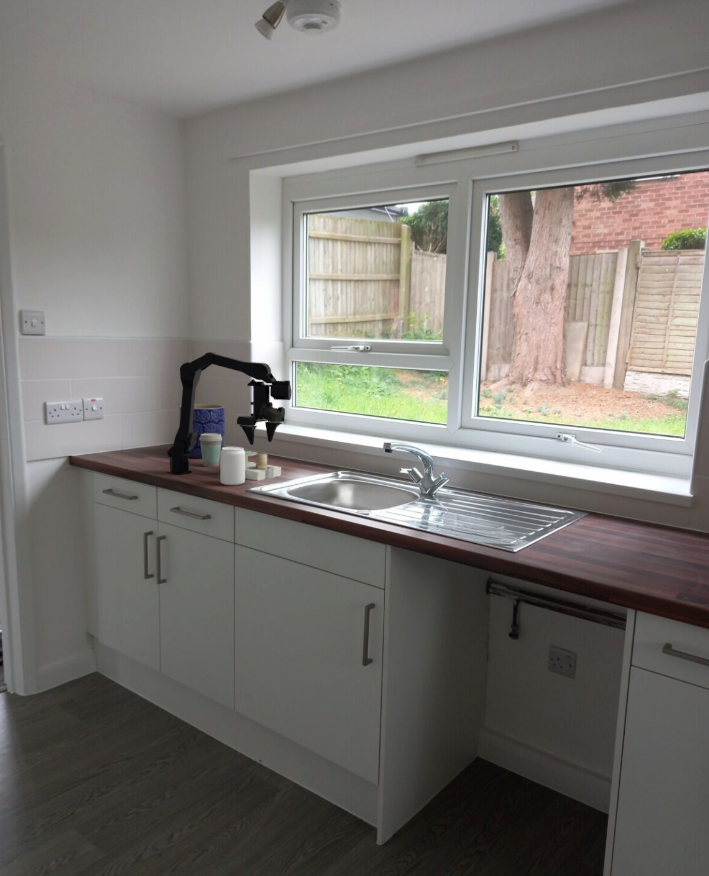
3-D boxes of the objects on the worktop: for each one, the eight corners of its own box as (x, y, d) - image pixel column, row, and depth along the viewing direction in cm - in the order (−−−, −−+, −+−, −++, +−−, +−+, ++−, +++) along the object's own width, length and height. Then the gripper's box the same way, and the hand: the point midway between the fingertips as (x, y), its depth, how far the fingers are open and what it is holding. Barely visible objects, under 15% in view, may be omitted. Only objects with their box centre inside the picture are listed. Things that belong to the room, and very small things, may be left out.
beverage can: (239, 486, 225) (239, 450, 223) (216, 485, 227) (216, 449, 225) (248, 481, 233) (248, 447, 231) (226, 480, 235) (225, 445, 233)
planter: (174, 453, 284) (174, 404, 281) (218, 451, 292) (218, 403, 289) (185, 461, 268) (184, 408, 265) (230, 458, 276) (230, 407, 273)
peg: (253, 476, 242) (253, 454, 241) (261, 474, 245) (261, 453, 244) (261, 478, 240) (261, 455, 239) (269, 476, 243) (269, 454, 242)
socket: (225, 474, 245) (225, 466, 244) (248, 469, 254) (248, 461, 254) (259, 480, 235) (259, 472, 235) (282, 475, 245) (282, 467, 244)
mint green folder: (225, 472, 247) (225, 453, 246) (244, 468, 255) (244, 450, 254) (238, 475, 244) (238, 455, 243) (257, 471, 252) (257, 452, 251)
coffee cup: (198, 463, 263) (198, 433, 261) (221, 463, 265) (221, 432, 264) (200, 468, 255) (199, 436, 253) (223, 467, 257) (223, 435, 256)
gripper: (259, 402, 227) (259, 448, 229) (296, 399, 242) (295, 442, 244) (235, 400, 233) (235, 445, 235) (272, 397, 248) (272, 439, 250)
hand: (261, 443), depth 241 cm, fingers open, 9 cm apart
